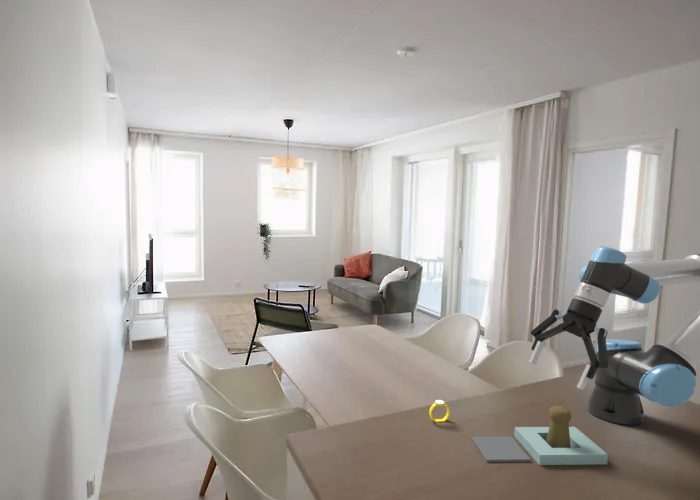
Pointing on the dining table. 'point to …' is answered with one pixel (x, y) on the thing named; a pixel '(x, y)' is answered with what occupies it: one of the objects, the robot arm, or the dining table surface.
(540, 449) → the socket board
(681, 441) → the dining table surface
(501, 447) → the rubber mat
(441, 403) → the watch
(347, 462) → the dining table surface
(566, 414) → the cork
